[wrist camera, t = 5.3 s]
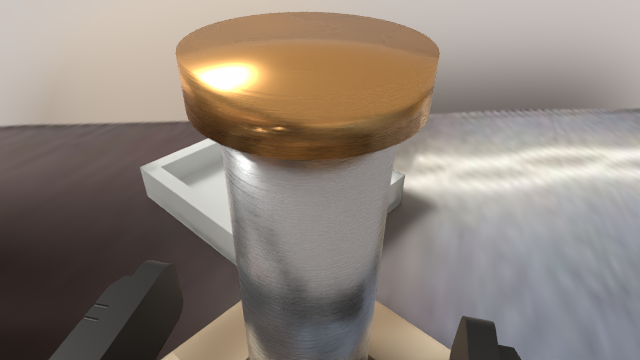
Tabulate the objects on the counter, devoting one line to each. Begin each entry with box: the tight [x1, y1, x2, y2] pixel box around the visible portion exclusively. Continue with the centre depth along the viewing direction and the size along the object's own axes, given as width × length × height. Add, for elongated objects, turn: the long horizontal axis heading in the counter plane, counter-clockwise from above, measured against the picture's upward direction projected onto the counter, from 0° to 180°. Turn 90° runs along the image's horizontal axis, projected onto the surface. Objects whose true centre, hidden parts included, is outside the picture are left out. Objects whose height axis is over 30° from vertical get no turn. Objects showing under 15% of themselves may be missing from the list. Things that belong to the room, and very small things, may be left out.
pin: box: [176, 12, 439, 360], centre depth 13 cm, size 5×5×16 cm
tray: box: [140, 138, 405, 266], centre depth 30 cm, size 14×12×2 cm
